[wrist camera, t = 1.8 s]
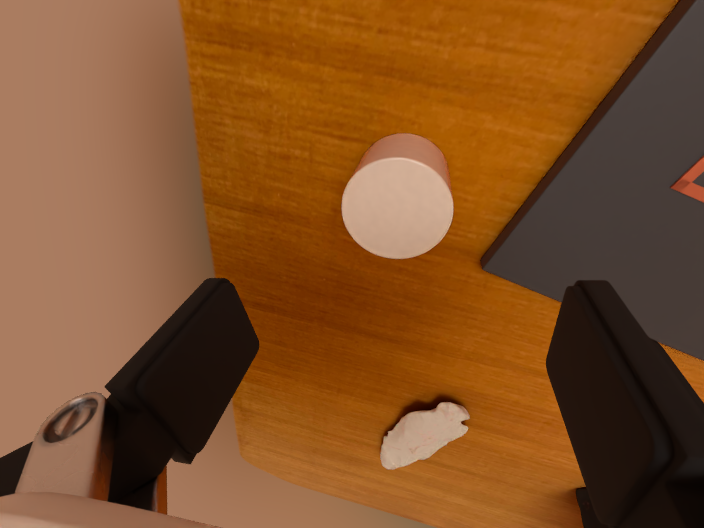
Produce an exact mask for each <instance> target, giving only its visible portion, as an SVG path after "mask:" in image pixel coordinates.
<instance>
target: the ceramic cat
mask: <svg viewBox="0 0 704 528" xmlns="http://www.w3.org/2000/svg"><path fill="white" fill-rule="evenodd" d="M576 496H577V501H578V504H579V507H580V511H581V516H582V522H583V526H584V528H609V527H608V525H606V524H602V523H601V522H600V521H599V520H598V518H597V516H596V514H595V512H594V509H593V506H592V503H591V500H590V497H589V494H588V491H587V489H576Z"/></svg>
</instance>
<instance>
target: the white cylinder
mask: <svg viewBox="0 0 704 528" xmlns="http://www.w3.org/2000/svg"><path fill="white" fill-rule="evenodd" d="M341 210H342V217H343V221H344V224H345V226H346V228H347V230H348V232H349V234H350V235H351V236H352V238H353V239H354V240H355V241H356V242H357V243H358V244H359V245H360V246H361V247H363V248H364V249H366V250H367V251H369V252H371V253H373V254H375V255H378V256H381V257H385V258H391V259H406V258H411V257H415V256H418V255H421V254H423V253H425V252H427V251H429V250H430V249H432V248H433V247H434V246H436V245H437V244H438V243H439V242H440V241H441V240H442V239H443V237H444V236H445V235H446V233H447V231H448V230H449V227H450V225H451V222H452V218H453V210H454V209H453V197H452V190H451V182H450V174H449V168H448V164H447V162H446V159H445V157H444V155H443V154H442V152H441V151H440V150H439V149H438V148H437V147H436V146H435V145H434V144H433V143H432V142H430V141H429V140H427V139H425V138H423V137H421V136H418V135H414V134H407V133H401V134H394V135H390V136H387V137H384V138H382V139H380V140H379V141H377V142H376V143H374V144H373V145H372V146H371V147H370V148H369V149H368V150H367V151H366V152H365V154H364V155H363V157H362V159H361V160H360V162H359V164H358V166H357V168H356V169H355V171H354V173H353V175H352V177H351V178H350V180H349V182H348V184H347V186H346V188H345V190H344V193H343V197H342V203H341Z"/></svg>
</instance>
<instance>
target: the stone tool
mask: <svg viewBox="0 0 704 528" xmlns="http://www.w3.org/2000/svg"><path fill="white" fill-rule="evenodd" d="M467 419H470V416H469V414H468V411H467V410H466V409H465V408H464V407H463V406H461V405H457V404H453V403H451V402H441V403H439V404H438V406H437V407H436V408H435V409H433V410H427V411H426V410H421V411H414V412H410V413H408V414H407V415H405V417H402V418H401V420H400V422H399V423H398V424H396V426H395V428H394V429H393V430H392V431H388V436H384V437H383V438H384V440H383V441H384V442H383V444H382V446H381V453H380V454H381V457H380V458H381V463H382V465H383V466H384V467H385V468H386V469H396V468H399V467H403V466H407V465H409V464H411V463H413V462H416V461H417V460H418V459H420V460H424V459H427V458H429V457H431V455H432V454H434V453H435V452H436V451H437V450H438V449H440V448H442V447H443V446H446V445H447V443H448V442H449V441H453V440H455V439H457V438H459V437H461V436H463V435H464V434H465V433H466V432H467V431H468V427H467V426H465V425H463V424H462V423H461V421H464V420H467Z"/></svg>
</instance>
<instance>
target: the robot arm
mask: <svg viewBox="0 0 704 528" xmlns="http://www.w3.org/2000/svg"><path fill="white" fill-rule="evenodd" d="M258 350H259V340H258V338H257V335H256V333H255V331H254V329H253V326H252V324H251V322H250V320H249V318H248V315H247V313H246V311H245V309H244V306H243V304H242V302H241V300H240V297H239V295H238V293H237V291H236V289H235V286H234V285H233V284H232V283H230V281H229V280H228V279H225V278H209V279H206V280H205V281H204V282H203V283H202V284H201V285H200V286H199V287H198V288H197V289H196V290H195V291H194V293H193V294H192V295H191V296H190V297H189V298H188V299H187V300H186V301H185V302H184V303H183V304H182V305H181V306H180V307H179V308H178V310H176V311H175V313H174V314H173V315H172V316H171V317H170V318H169V319H168V320H167V321H166V322H165V323H164V324H163V325H162V326H161V327H160V328H159V329H158V331H157V332H156V333H155V334H154V335H153V336H152V337H151V338H150V339H149V340H148V341H147V342H146V343H145V344H144V345H143V346H142V347H141V348H140V350H139V351H138V352H137V353H136V354H135V355H134V356H133V357H132V358H131V359H130V360H129V361H128V362H127V363H126V364H125V365H124V367H122V369H121V370H120V371H119V372H118V373H117V374H116V375H115V376H114V377H113V378H112V379H111V380H110V381H109V382H108V383H107V384H106V385H105V388H106V389H107V390H108V391H109V392H110V393H111V395H110V396H109V397H108V398H107V399H106V398H105V397H104V396H103V395H102V394H101V393H97V392H91V393H85V394H83V395H80V396H77V397H75V398H73V399H72V400H69V401H67V402H66V403H65V404H63V405H62V406H61V407H59V408H57V409H56V410H55V411H54V412H53V413H52V414H51V415H50V416H49V417H47V419H46V420H45V421H44V422H43V424H42V425H41V426H40V428H39V430H38V431H37V433H36V435H35V438H34V441H33V442H31V443H29V444H27V445H25V446H23V447H21V448H19V449H17V450H15V451H13V452H11V453H9V454H7V455H5V456H3V457H1V458H0V528H221V527H217V526H212V525H208V524H204V523H199V522H195V521H191V520H186V519H182V518H178V517H173V516H169V515H167V474H166V473H167V469H166V468H167V466H166V465H167V463H168V462H169V460H170V458H172V459H173V460H174V461H175V462H181V463H186V464H191V463H192V461H193V459H194V457H195V456H196V454H197V453H199V452H200V451H201V450H202V449H203V448H204V446H205V445H206V443H207V441H208V439H209V438H210V435H211V434H212V432H213V430H214V429H215V427H216V425H217V423H218V422H219V420H220V418H221V416H222V414H223V413H224V411H225V409H226V407H227V405H228V404H229V402H230V400H231V398H232V397H233V395H234V393H235V391H236V390H237V388H238V386H239V384H240V382H241V381H242V379H243V377H244V375H245V374H246V372H247V370H248V368H249V366H250V365H251V363H252V361H253V359H254V358H255V356H256V354H257V352H258ZM546 368H547V372H548V376H549V379H550V382H551V384H552V387H553V390H554V393H555V396H556V399H557V402H558V405H559V408H560V411H561V414H562V417H563V420H564V423H565V426H566V429H567V432H568V435H569V438H570V441H571V444H572V447H573V450H574V453H575V456H576V459H577V462H578V464H579V467H580V470H581V473H582V476H583V479H584V482H585V485H586V488H587V491H588V494H589V497H590V500H591V503H592V506H593V509H594V512H595V514H596V516H597V518H598V520H599V521H600V522H601V523H602V524H606V525H608V527H609V528H704V403H703V402H702V400H701V399H700V398H699V396H698V395H697V394H696V392H695V391H694V389H693V388H692V387H691V385H690V384H689V383H688V381H687V380H686V379H685V377H684V376H683V375H682V373H681V372H680V370H679V369H678V368H677V366H676V365H675V364H674V362H673V361H672V360H671V358H670V357H669V355H668V354H667V353H666V351H665V350H664V349H663V347H662V346H661V345H660V344H659V343H658V342H657V341H655V340H653V339H652V338H649V337H648V336H647V334H646V333H645V331H644V330H643V329H642V327H641V326H640V324H639V323H638V322H637V320H636V319H635V317H634V316H633V315H632V313H631V312H630V310H629V309H628V308H627V306H626V305H625V303H624V302H623V301H622V299H621V298H620V296H619V295H618V294H617V292H616V291H615V289H614V288H613V287H612V285H611V284H610V283H609V282H608V281H606V280H578V281H576V282H575V284H574V286H568V287H567V288H566V290H565V293H564V297H563V300H562V304H561V308H560V311H559V315H558V318H557V322H556V326H555V329H554V333H553V336H552V340H551V344H550V347H549V351H548V354H547V358H546Z"/></svg>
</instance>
